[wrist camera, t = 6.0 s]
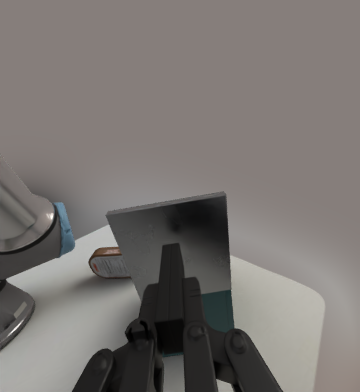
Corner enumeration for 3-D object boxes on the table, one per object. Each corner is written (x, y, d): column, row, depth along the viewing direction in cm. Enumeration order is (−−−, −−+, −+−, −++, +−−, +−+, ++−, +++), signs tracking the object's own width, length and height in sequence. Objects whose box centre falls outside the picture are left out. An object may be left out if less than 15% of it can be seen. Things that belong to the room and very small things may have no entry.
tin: (151, 269, 44) (143, 243, 41) (148, 279, 41) (139, 251, 38) (100, 271, 46) (89, 247, 43) (93, 281, 43) (81, 255, 40)
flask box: (165, 288, 38) (154, 244, 34) (216, 280, 37) (210, 235, 33) (161, 357, 26) (143, 303, 22) (236, 346, 25) (231, 289, 21)
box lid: (107, 210, 16) (105, 215, 16) (224, 190, 16) (226, 194, 15) (142, 297, 22) (141, 303, 21) (229, 284, 22) (231, 289, 21)
